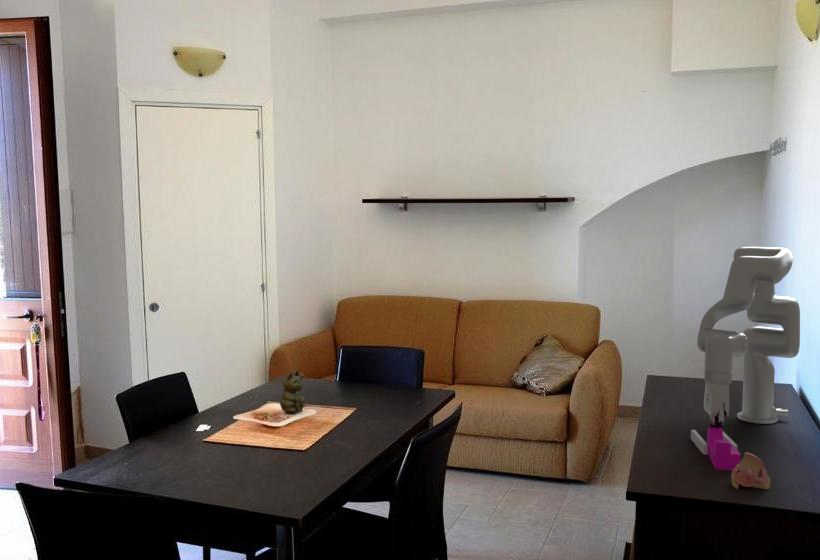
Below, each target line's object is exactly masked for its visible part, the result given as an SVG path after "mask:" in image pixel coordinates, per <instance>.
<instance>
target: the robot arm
mask: <svg viewBox="0 0 820 560" xmlns="http://www.w3.org/2000/svg"><path fill="white" fill-rule="evenodd" d="M793 260H794V259H793V254H792V251H790V250H789V249H788V248H785V247H772V246H771V247H767V246H742V247H738V248H737V249H735V250H734V252H733V260H732V262H731V264H730V268H729V272H728V276H727V279H726V283H725V284H726V285H725V288H724V292H723V293H724V294H723V296H722V298H721V299H720V300H718V301H717V302H716V303H714V304H713V305H712V306H711V307H710V308H709V309H708V310H707V311H706V312H705V313H704V315H703V316H702V318H701V321H700V326H699V329H698V334H697V340H696V341H697V342H696V344H697V345H696V346H697V347H698V350H699V351H700V352H702V353H704V372H703V373H704V378H703V379H704V382H705V384H704V385H705V386H704V396H703V397H704V398H703V409H704V411H705V412H706V413H707V415H709V416H710V417H709V419H710V420H709V421H710V424H709V427H714V428H722V429H724V423H725V418H728V416H729V414H730V412H729V411H730V384H732V383H733V358H735V357H736V358H738V357H742V356H743V377H742V379H743V382H742V383H743V384H742V404H741V405H742V407H741V411H738V412H737V413H736V418H738V420H740V421H743V422H747V423H751V424H759V425H761V424H764V425H770V424H775V423H778V422H779V421H778V420H779V416H789V409H783V408H777V407H775V406H774V401H775V400H774V398H775V396H774V395H775V371H776V370H775V366H774V364H773V362H772V361H771V359H770V358H769V357H776V358H785V359H793V358H795V357H797V356H798V354H799V352H800V348H801V347H800V345H801V307H800V305H799V302H798V300H797V299H795V298H794V297H793V296H791V297H790V296H785V295H784V296H782V295H781V296H780V295H776V294H775V290H776V289H775V285H776V284H779V283H780V282H781V281H782V280H783V279H784V278H785V277H786V276H787V275H788V274H789V273H790V271H791V270H792V269H791V268H792V266H793V262H794V261H793ZM744 311H746V316H747V319H748V320H749V321H750V322H752V323H755V324H763V325H774V326H780V327H782V328H780V327H772V326H771V327H770V326H760V325H759V326H758V325H757V326H756V325H755V326H749V327H747V328H745V329H744V330H743V332H741V331H733V330H725V329H716V328H715V329H714V326H715V325H716V324H717V323H718V322H719V321H720V320H722V319H724V318H726V317H728V316H731V315H735V314H737V313H741V312H744Z"/></svg>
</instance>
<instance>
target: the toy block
mask: <svg viewBox="0 0 820 560" xmlns="http://www.w3.org/2000/svg"><path fill="white" fill-rule="evenodd" d="M723 429H724V428H723ZM723 429H722V428H714V427H710V426H709V427H708V426H707V441H706V443H707V444H708V455H707V456H708V457H709V459H710V461H711V463H712V464H713V467H714V469H715V470H720V471H721V470H725V471H732V470H733V469H735V467H736V466H737V464H740V463H739V462H740V461H741V453H740V452H739V450H738V449H737V450H734V448H733V447H731V443H730V441H729V440H723V431H724V430H723Z"/></svg>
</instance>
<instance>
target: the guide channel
mask: <svg viewBox="0 0 820 560" xmlns="http://www.w3.org/2000/svg"><path fill="white" fill-rule="evenodd" d="M690 440H691V441H692V442H694V443H695V444H694V443H693V444H694V446H696V447H697V449H698V448H699V449H698V450H699V451H700V452H701V454H702V453H703V454H702V455H704V456H709V455H708V444H707V441H705V440H704V439H703V437H702V436H701V435H700V434H699V433H698V431H697V430H696V429H690ZM723 440H729V441H730V443H731V447H733V448H734V450H738V444H737V443H736V442H734V440H733V439H732V438H731V437H730V436H728V435H727V433H726V432H725V431H724V430H723Z"/></svg>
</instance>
